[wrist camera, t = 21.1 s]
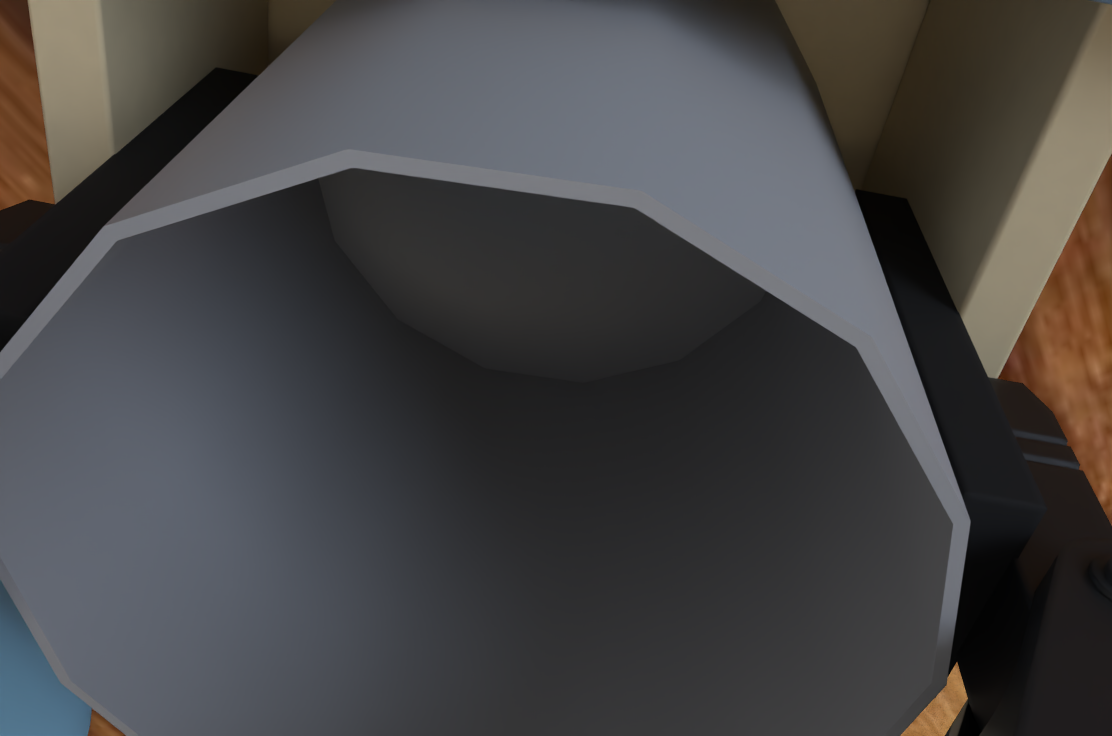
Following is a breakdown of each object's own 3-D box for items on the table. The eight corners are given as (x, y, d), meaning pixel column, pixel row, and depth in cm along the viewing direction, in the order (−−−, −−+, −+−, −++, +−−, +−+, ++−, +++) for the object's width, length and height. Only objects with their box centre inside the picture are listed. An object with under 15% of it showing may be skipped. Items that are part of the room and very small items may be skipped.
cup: (897, 247, 17) (1101, 764, 9) (499, 428, 20) (382, 940, 12) (654, -245, 14) (627, -120, 5) (213, 66, 17) (-234, 448, 8)
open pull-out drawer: (752, 636, 25) (776, 922, 19) (220, 538, 25) (85, 799, 19) (1201, -461, 13) (1623, -566, 7) (170, -667, 13) (-239, -944, 7)
